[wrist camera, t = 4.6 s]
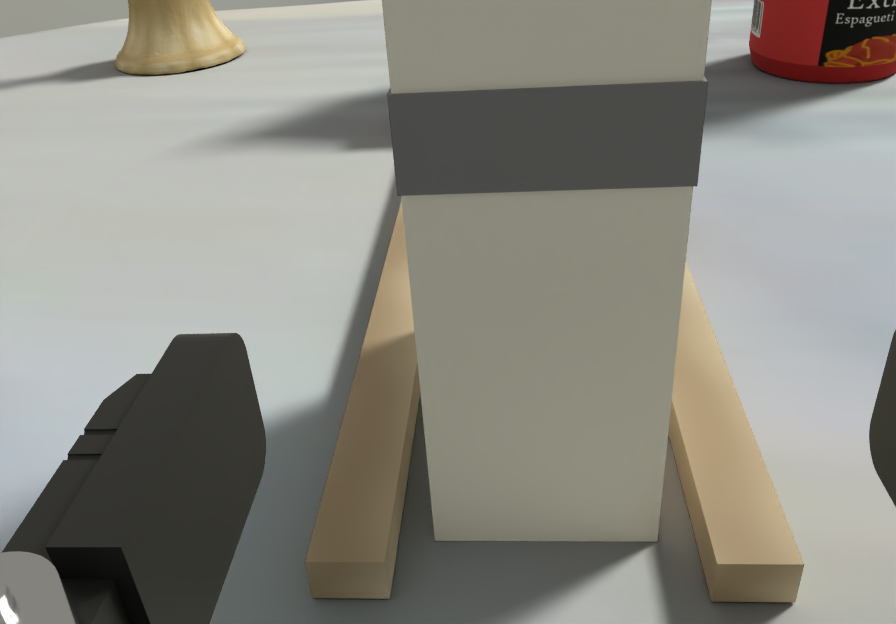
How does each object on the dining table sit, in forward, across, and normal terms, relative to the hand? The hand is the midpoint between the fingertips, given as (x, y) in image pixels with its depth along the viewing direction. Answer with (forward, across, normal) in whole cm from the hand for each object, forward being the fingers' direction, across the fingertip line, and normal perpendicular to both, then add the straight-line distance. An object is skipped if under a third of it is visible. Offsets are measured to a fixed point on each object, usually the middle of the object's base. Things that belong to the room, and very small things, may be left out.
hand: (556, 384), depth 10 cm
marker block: (+7, 0, +6) cm, 10 cm away
